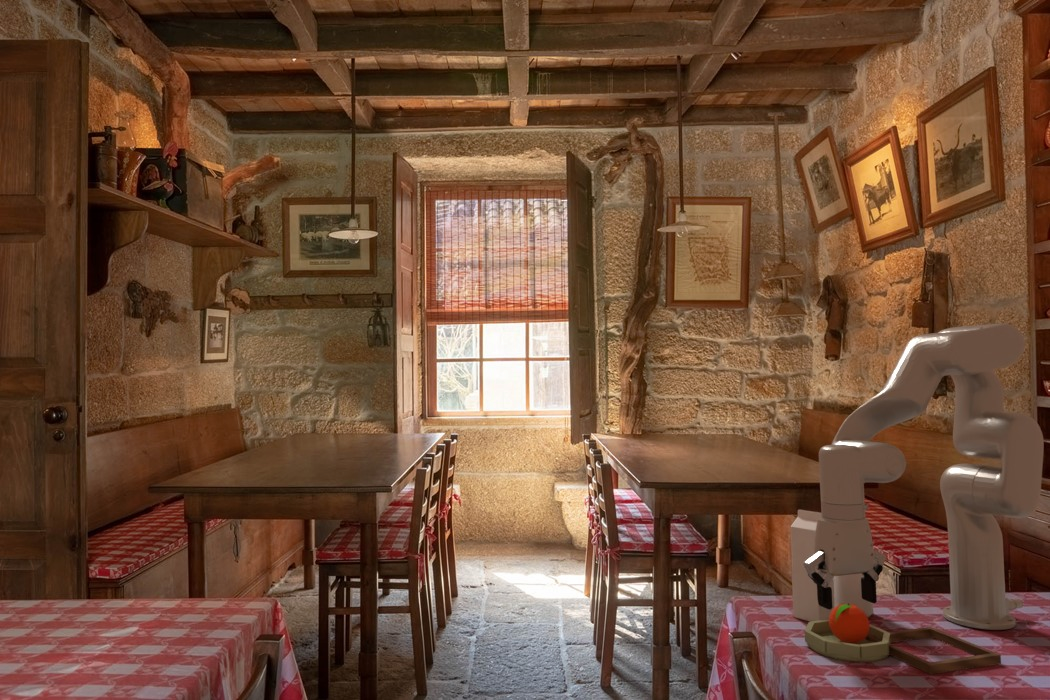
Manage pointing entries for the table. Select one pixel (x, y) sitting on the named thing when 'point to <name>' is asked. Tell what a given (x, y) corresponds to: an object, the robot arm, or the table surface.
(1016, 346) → the robot arm
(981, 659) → the brown rectangular frame
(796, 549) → the milk
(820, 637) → the dish
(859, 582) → the alcohol
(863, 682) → the table surface
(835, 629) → the clementine
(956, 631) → the table surface
